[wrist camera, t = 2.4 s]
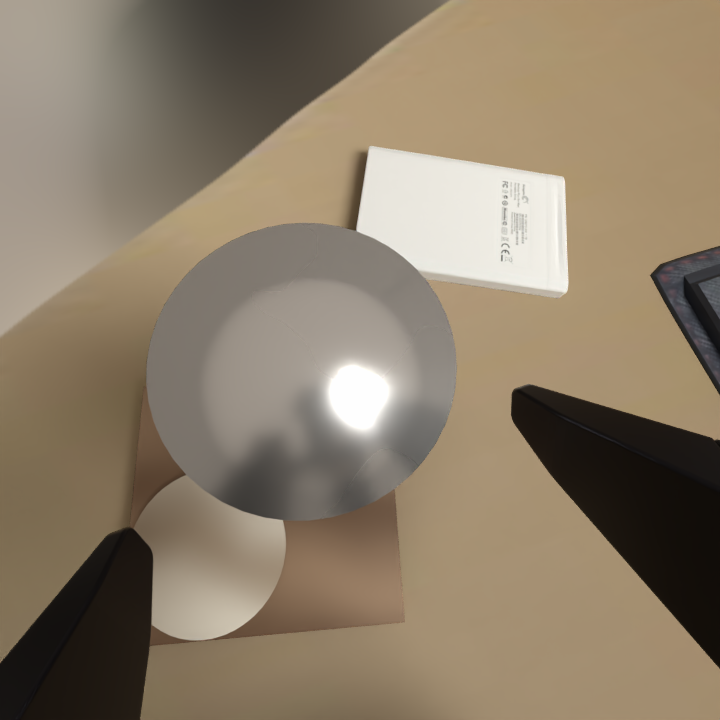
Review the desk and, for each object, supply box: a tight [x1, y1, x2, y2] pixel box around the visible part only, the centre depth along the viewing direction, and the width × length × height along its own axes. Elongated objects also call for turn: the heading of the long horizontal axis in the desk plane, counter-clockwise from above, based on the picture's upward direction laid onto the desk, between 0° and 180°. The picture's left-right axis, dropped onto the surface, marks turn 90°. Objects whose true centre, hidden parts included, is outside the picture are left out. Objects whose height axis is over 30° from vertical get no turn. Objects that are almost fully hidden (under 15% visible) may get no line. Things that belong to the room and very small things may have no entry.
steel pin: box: [146, 223, 457, 521], centre depth 11 cm, size 4×4×13 cm
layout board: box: [130, 386, 405, 646], centre depth 17 cm, size 11×12×1 cm
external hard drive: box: [356, 146, 568, 298], centre depth 22 cm, size 2×8×12 cm
